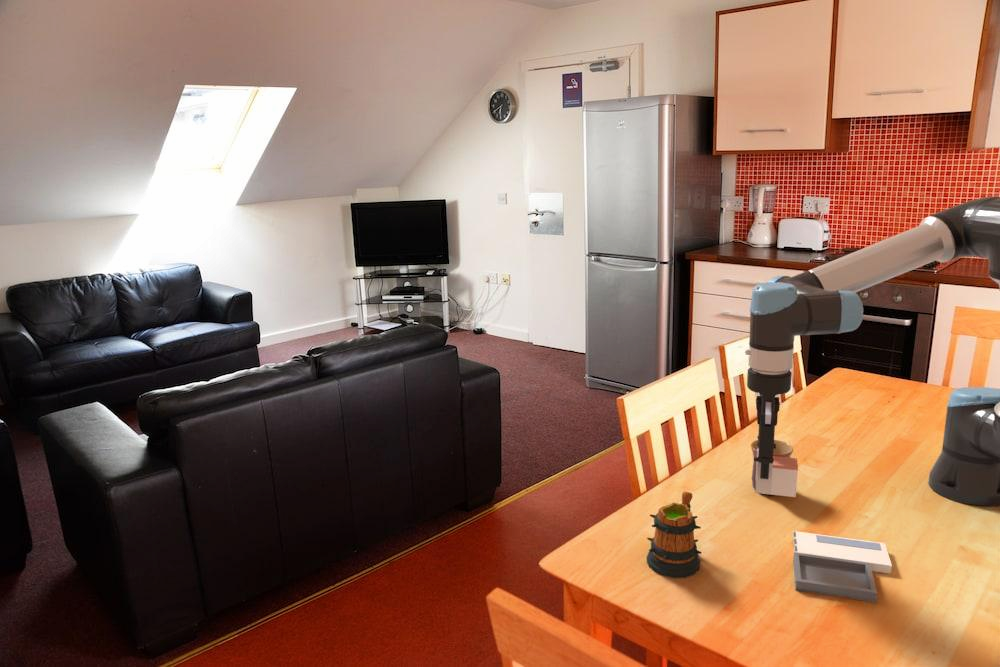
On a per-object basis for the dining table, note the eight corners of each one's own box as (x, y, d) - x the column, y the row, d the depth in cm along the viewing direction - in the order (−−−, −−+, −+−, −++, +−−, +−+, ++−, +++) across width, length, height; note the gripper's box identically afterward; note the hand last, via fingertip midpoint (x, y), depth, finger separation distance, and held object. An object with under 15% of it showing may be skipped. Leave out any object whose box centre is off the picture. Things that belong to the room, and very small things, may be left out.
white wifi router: (884, 550, 140) (885, 542, 140) (890, 573, 133) (892, 565, 132) (793, 538, 145) (793, 530, 145) (794, 559, 138) (795, 551, 137)
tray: (868, 571, 134) (869, 562, 133) (876, 602, 125) (877, 593, 124) (793, 560, 138) (793, 552, 137) (795, 590, 129) (796, 580, 128)
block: (794, 487, 141) (796, 458, 139) (795, 497, 137) (797, 467, 136) (760, 483, 143) (762, 455, 141) (761, 493, 139) (763, 463, 137)
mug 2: (745, 479, 170) (748, 437, 168) (786, 482, 169) (789, 440, 166) (752, 504, 159) (755, 459, 156) (795, 507, 157) (799, 462, 155)
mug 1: (691, 585, 131) (694, 525, 128) (636, 569, 136) (638, 511, 133) (712, 550, 142) (716, 495, 139) (661, 537, 147) (663, 483, 144)
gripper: (748, 354, 144) (743, 466, 150) (747, 382, 128) (741, 505, 134) (790, 356, 141) (782, 469, 147) (794, 384, 126) (785, 510, 132)
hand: (763, 486), depth 141 cm, fingers closed on block, 4 cm apart
